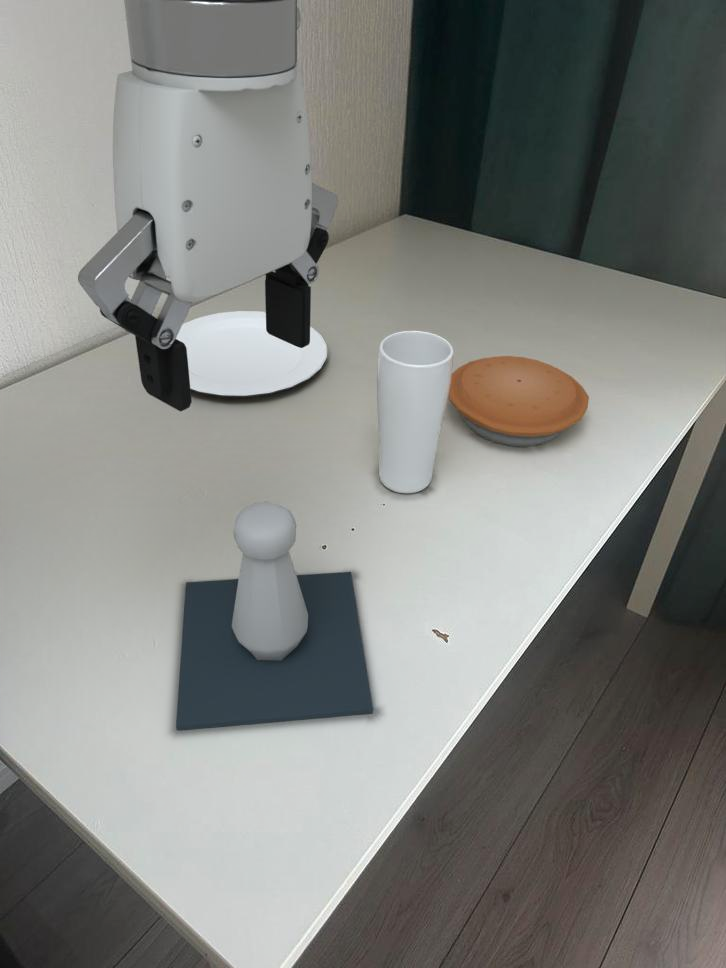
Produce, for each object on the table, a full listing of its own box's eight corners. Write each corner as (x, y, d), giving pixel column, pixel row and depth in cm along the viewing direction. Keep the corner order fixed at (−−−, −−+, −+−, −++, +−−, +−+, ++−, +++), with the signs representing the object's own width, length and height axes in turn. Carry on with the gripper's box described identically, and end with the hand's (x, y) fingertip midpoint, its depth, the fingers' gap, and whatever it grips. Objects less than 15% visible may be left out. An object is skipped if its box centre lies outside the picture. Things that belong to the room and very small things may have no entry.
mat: (176, 730, 55) (175, 725, 54) (186, 587, 65) (185, 582, 65) (372, 713, 56) (372, 708, 56) (350, 576, 67) (350, 571, 67)
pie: (463, 372, 95) (468, 335, 92) (590, 400, 91) (600, 363, 88) (426, 438, 84) (430, 399, 81) (569, 474, 80) (579, 434, 77)
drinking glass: (357, 479, 78) (362, 346, 68) (401, 451, 82) (411, 322, 72) (408, 510, 74) (421, 375, 65) (451, 479, 78) (470, 348, 69)
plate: (180, 421, 84) (178, 408, 83) (140, 336, 99) (138, 324, 98) (354, 386, 92) (354, 373, 90) (293, 311, 106) (293, 299, 105)
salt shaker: (306, 672, 58) (303, 547, 50) (229, 670, 58) (215, 544, 50) (310, 613, 63) (308, 490, 55) (239, 612, 63) (227, 487, 55)
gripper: (282, 12, 42) (284, 302, 53) (-10, 43, 31) (67, 402, 42) (393, 33, 39) (371, 339, 49) (108, 76, 28) (159, 458, 38)
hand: (232, 368), depth 46 cm, fingers open, 9 cm apart
